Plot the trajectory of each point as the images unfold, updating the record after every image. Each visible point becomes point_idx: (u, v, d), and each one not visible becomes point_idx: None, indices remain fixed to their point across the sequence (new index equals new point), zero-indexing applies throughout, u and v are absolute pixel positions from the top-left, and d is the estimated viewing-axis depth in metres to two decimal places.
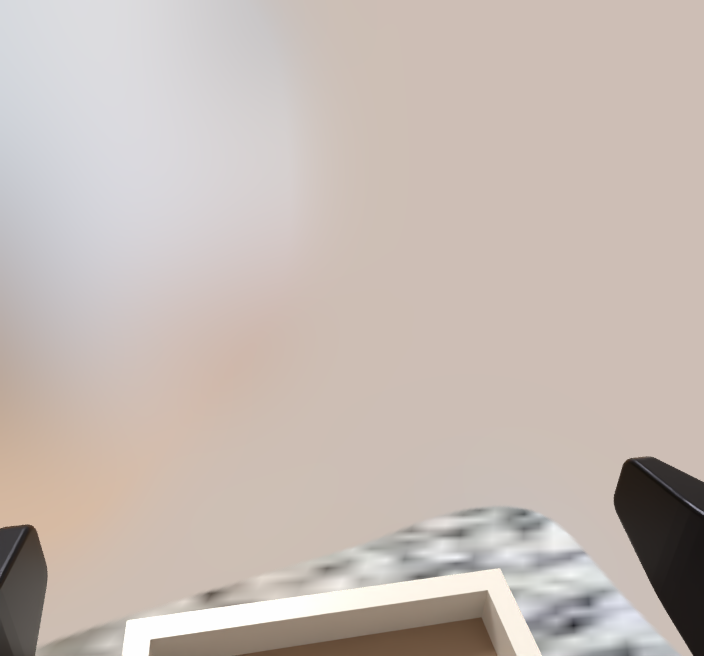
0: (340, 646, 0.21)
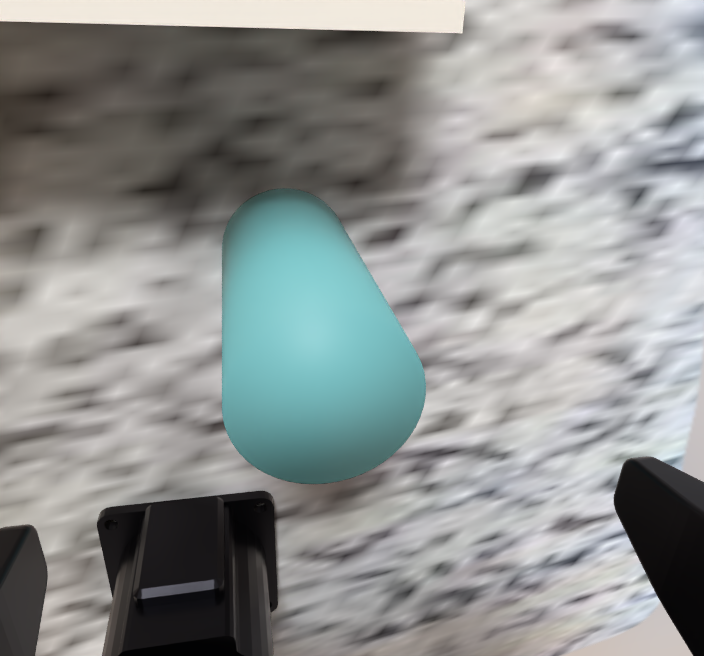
0: None
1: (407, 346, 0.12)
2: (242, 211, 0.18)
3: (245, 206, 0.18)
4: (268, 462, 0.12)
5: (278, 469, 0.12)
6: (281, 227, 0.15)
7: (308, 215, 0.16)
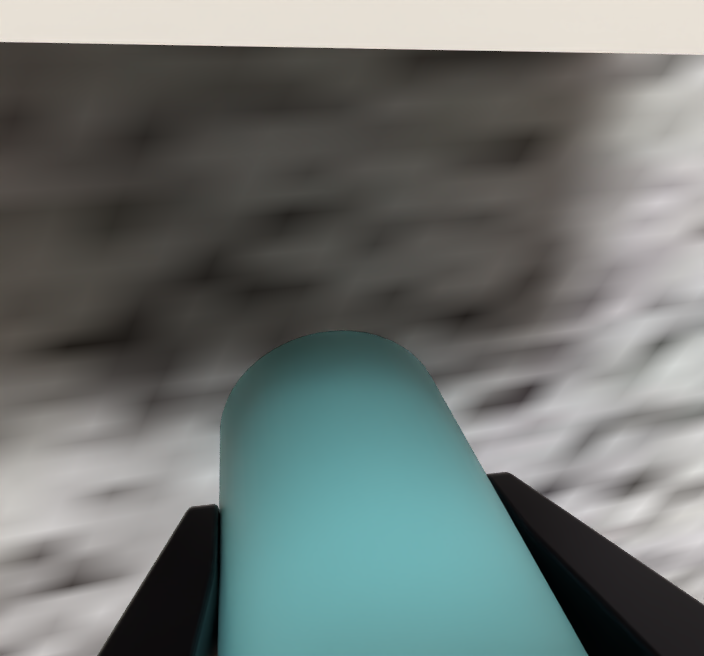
0: None
1: None
2: (258, 384, 0.09)
3: (264, 372, 0.10)
4: None
5: None
6: (352, 496, 0.07)
7: (402, 435, 0.08)
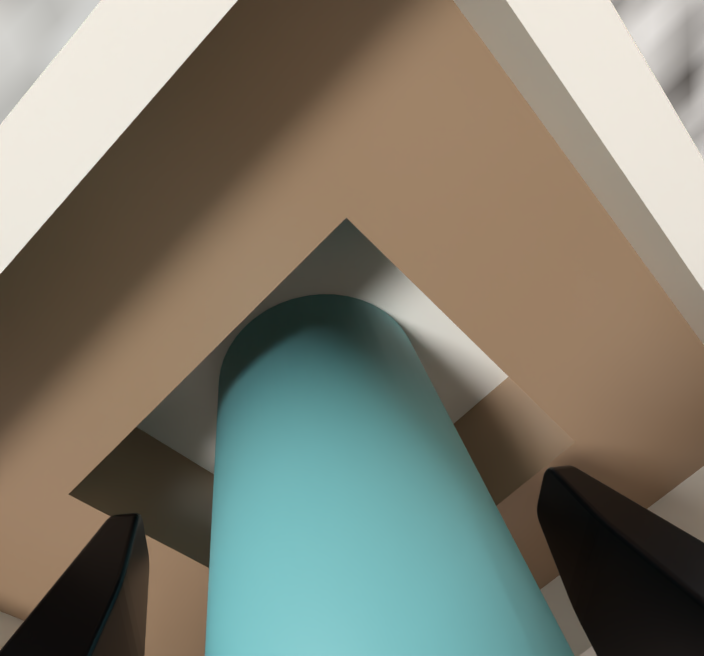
0: (66, 232, 0.08)
1: None
2: (251, 339, 0.11)
3: (257, 328, 0.11)
4: None
5: None
6: (325, 418, 0.08)
7: (372, 374, 0.09)
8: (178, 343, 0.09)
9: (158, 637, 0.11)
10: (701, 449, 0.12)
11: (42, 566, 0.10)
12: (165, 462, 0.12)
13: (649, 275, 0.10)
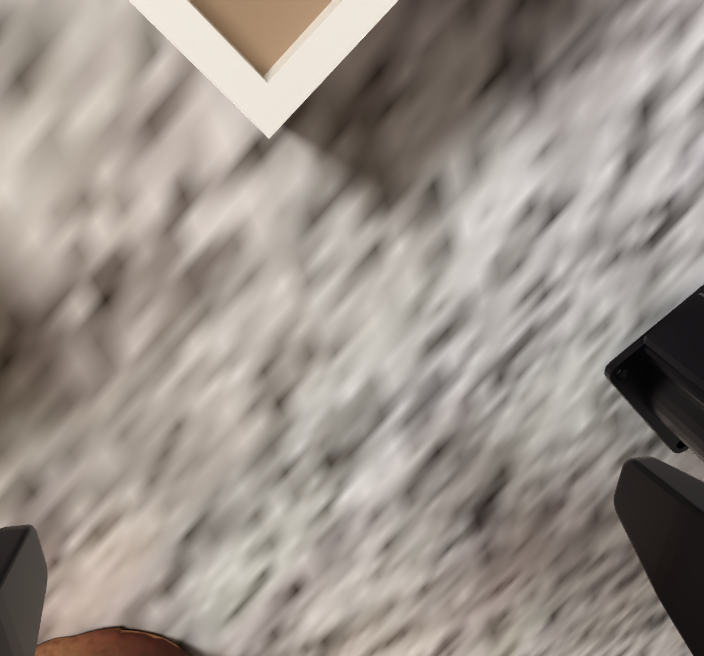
0: None
1: None
2: None
3: None
4: None
5: None
6: None
7: None
8: None
9: None
10: None
11: None
12: None
13: None
